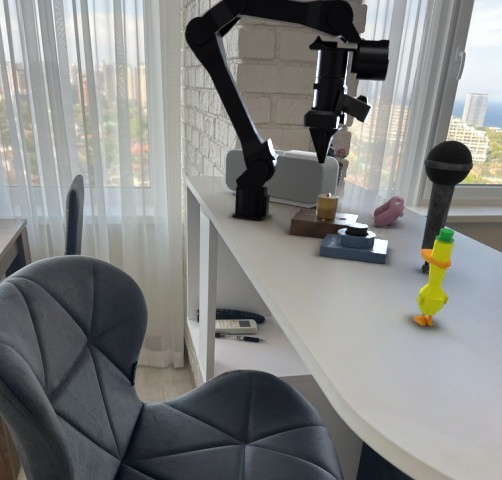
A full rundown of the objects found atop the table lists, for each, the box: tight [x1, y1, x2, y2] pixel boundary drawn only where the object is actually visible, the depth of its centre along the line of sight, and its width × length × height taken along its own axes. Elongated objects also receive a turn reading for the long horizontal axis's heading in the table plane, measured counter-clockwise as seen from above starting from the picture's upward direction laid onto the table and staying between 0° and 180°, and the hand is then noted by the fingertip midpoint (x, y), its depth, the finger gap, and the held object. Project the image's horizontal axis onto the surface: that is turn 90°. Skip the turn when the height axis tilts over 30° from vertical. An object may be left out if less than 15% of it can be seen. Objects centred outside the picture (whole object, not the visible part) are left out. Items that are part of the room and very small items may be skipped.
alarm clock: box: [224, 147, 340, 209], centre depth 127 cm, size 27×9×12 cm, turn 58°
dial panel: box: [289, 208, 359, 239], centre depth 101 cm, size 12×10×3 cm
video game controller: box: [373, 195, 405, 228], centre depth 110 cm, size 10×5×7 cm, turn 168°
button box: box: [319, 228, 389, 264], centre depth 89 cm, size 11×9×4 cm
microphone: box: [420, 139, 474, 273], centre depth 77 cm, size 7×7×20 cm
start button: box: [346, 222, 369, 236], centre depth 88 cm, size 4×4×2 cm
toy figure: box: [413, 227, 455, 327], centre depth 61 cm, size 7×4×12 cm, turn 9°
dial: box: [315, 193, 339, 219], centre depth 99 cm, size 4×4×4 cm
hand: (321, 163), depth 104 cm, fingers closed
